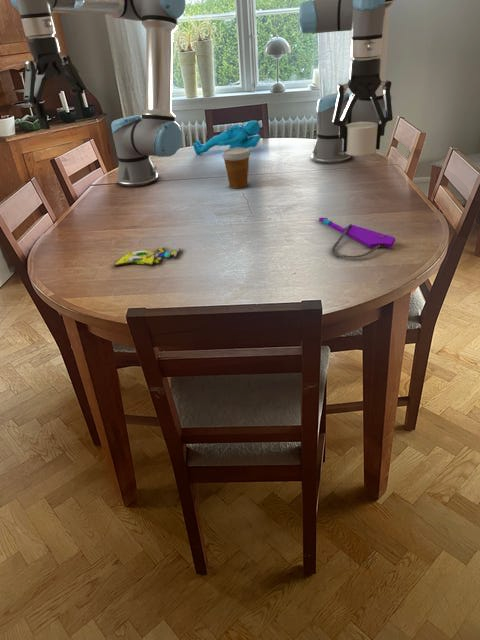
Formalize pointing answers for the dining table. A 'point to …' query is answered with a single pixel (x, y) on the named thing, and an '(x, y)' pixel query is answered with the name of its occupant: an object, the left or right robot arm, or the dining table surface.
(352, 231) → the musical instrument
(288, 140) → the dining table surface
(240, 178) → the disposable coffee cup
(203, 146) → the toy
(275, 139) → the dining table surface
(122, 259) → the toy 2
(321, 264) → the dining table surface
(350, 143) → the canister
